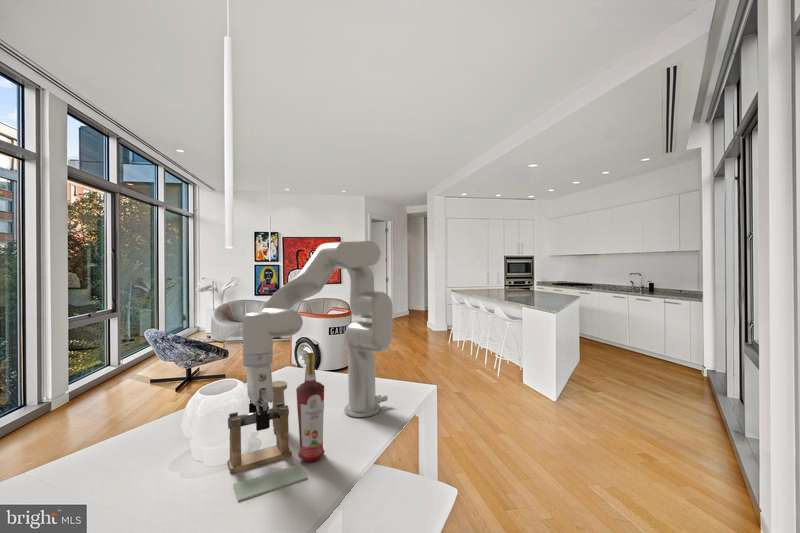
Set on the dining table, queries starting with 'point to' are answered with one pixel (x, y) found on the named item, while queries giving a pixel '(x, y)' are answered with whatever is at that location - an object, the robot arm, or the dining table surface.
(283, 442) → the hook stand
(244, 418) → the rail
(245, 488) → the mat
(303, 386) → the liquor
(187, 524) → the dining table surface
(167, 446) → the dining table surface
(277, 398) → the handle
